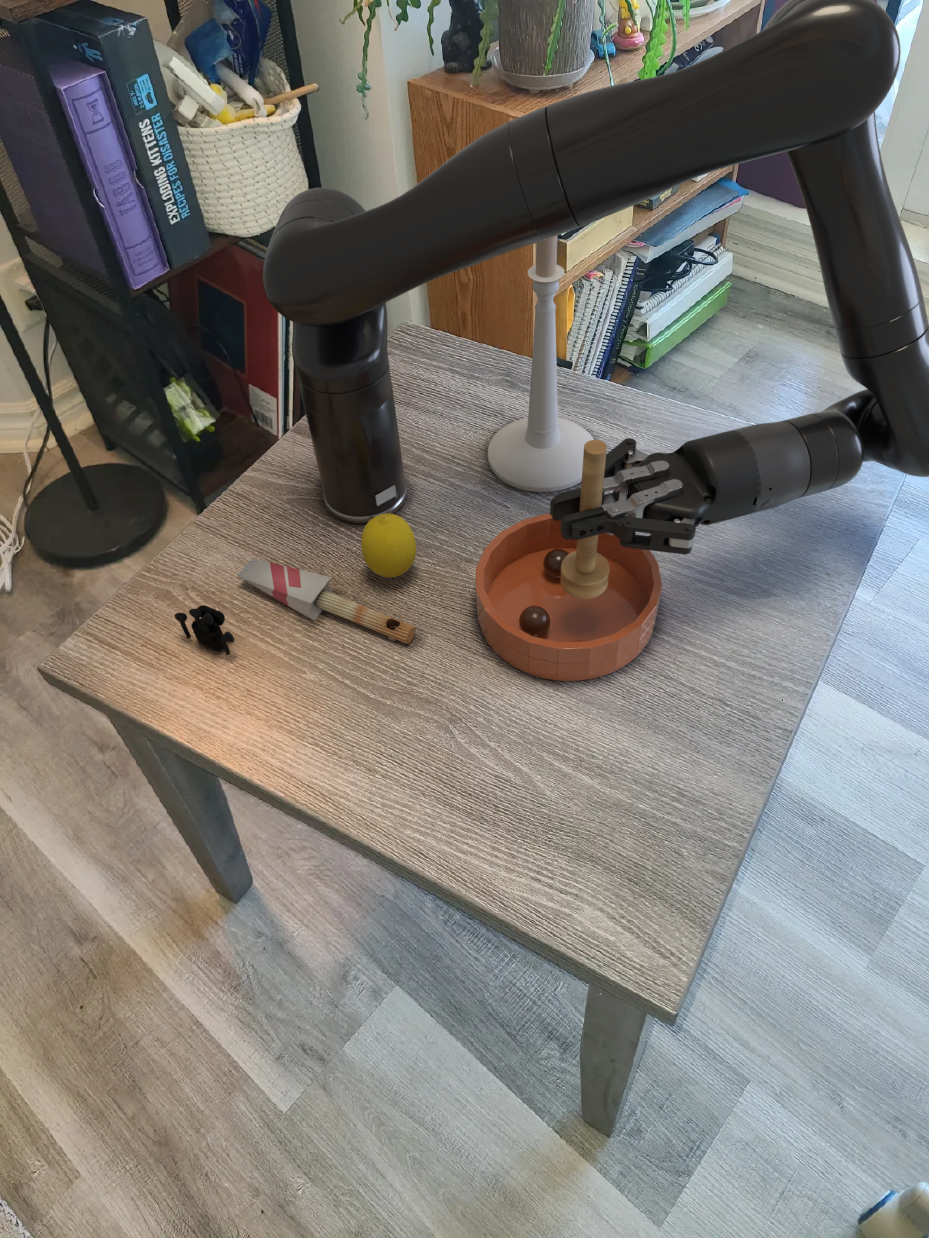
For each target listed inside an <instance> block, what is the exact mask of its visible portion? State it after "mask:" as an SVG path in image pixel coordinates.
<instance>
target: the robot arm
mask: <svg viewBox="0 0 929 1238" xmlns="http://www.w3.org/2000/svg"><path fill="white" fill-rule="evenodd" d="M901 53H902V52H901V41H900V37H899V32H898V30H897V28H896V26H895V23H894V21H893V19H892V18H891V16H890V15H889V14H888V13H887V11H886V10H885V9H884V8H883V7H882V6H881V5H880V4H879V3H877V2H876V1H875V0H787V1H786V2H784V4H783V5H782V6H780V7H779V8H778V9H777V10H776V11H775V12H774V13H773V15H772V16H771V18H769V20H768V21H767V23H766V24H765V26H764V28H763V29H762V30H760V31H759V32H757V33H756V34H753V35H751V36H750V37H748V38H746V39H744V40H742V41H740V42H738V43H736V44H734V45H732V46H730V47H728V48H726V49H724V50H721V51H720V52H718V53H716V54H713V55H712V56H710V57H707V58H706V59H703V60H701V61H699V62H696V63H693V64H692V65H689V66H687V67H684V68H681V69H678V70H676V71H672V72H669V73H665V74H661V75H657V76H652V77H648V78H643V79H637V80H633V81H628V82H623V83H618V84H613V85H609V86H606V87H601V88H597V89H593V90H590V91H587V92H586V91H585V92H583V93H580V94H576V95H572V96H570V97H567V98H565V99H561V100H558V101H556V102H553V103H550V104H547V106H546V105H544V106H542V107H540V108H538V109H535V110H533V111H531V112H528V113H526V114H523V115H520V116H519V117H516V118H513V119H511V120H509V121H507V122H505V123H503V124H501V125H498V126H497V127H495V128H493V129H491V130H490V131H488V132H486V133H484V134H483V135H481V136H479V137H478V138H477V139H475V140H474V141H471V142H470V143H469V144H468V145H466V146H465V147H463V148H462V149H461V150H459V151H458V152H456V153H455V154H454V155H453V156H451V157H450V158H449V159H447V160H446V161H445V162H444V163H443V164H441V165H440V166H439V167H438V168H436V169H435V170H434V171H433V172H431V173H430V174H428V175H427V177H425V178H423V179H422V180H421V181H420V182H418V183H417V184H416V185H414V186H413V187H411V188H410V189H408V190H407V191H406V192H404V193H403V194H401V195H399V196H397V197H395V198H394V199H392V200H390V201H388V202H386V203H383V204H381V205H378V206H376V207H373V208H372V209H367V210H366V209H365V208H364V207H363V206H362V205H361V204H360V202H358V201H357V200H356V199H355V198H354V197H352V196H351V195H349V194H348V193H346V192H344V191H341V190H339V189H336V188H332V187H314V188H309V189H306V190H304V191H302V192H300V193H298V194H296V195H295V196H294V197H293V198H292V199H290V200H289V201H288V203H287V204H286V205H285V207H284V208H283V210H282V211H281V213H280V216H279V218H278V221H277V222H276V225H275V227H274V230H273V233H272V235H271V238H270V240H269V243H268V247H267V249H266V251H265V255H264V260H263V267H262V285H263V290H264V293H265V296H266V298H267V300H268V302H269V304H270V305H271V306H272V308H273V309H274V310H275V311H276V312H277V313H278V314H280V315H281V316H282V317H283V318H285V319H287V320H289V321H290V322H292V337H291V356H292V361H293V366H294V369H295V374H296V379H297V383H298V387H299V391H300V396H301V400H302V403H303V408H304V412H305V417H306V421H307V426H308V430H309V435H310V439H311V443H312V447H313V452H314V456H315V460H316V464H317V469H318V473H319V479H320V484H321V488H322V495H323V500H324V504H325V507H326V509H327V510H328V512H329V513H330V514H331V515H332V516H334V517H335V518H336V519H338V520H341V521H344V522H347V523H351V524H367V523H368V522H369V521H370V520H371V519H372V518H374V517H376V516H378V515H381V514H395V513H396V512H397V511H399V510H400V508H402V506H403V505H404V504H405V501H406V499H407V496H408V488H407V480H406V477H405V472H404V462H403V456H402V449H401V447H402V446H401V440H400V433H399V432H400V431H399V425H398V419H397V411H396V410H397V409H396V403H395V395H394V388H393V382H392V374H391V367H390V360H389V359H390V357H389V351H388V350H389V349H388V311H387V310H388V309H387V303H388V302H390V301H392V300H394V299H396V298H398V297H400V296H401V295H404V294H405V293H408V292H410V291H412V290H414V289H416V288H418V287H420V286H422V285H424V284H426V283H427V284H428V283H429V282H432V281H435V280H436V279H439V278H442V277H444V276H445V277H446V276H447V275H451V274H452V273H456V272H459V271H462V270H465V269H468V268H470V267H473V266H475V265H478V264H481V263H484V262H486V261H488V260H492V259H494V258H497V257H500V256H502V255H505V254H508V253H510V252H513V251H516V250H519V249H522V248H524V247H528V246H531V245H534V244H535V245H536V243H538V242H541V241H544V240H547V239H549V238H552V237H555V236H557V237H558V236H561V235H563V234H565V233H569V232H571V231H573V230H574V231H575V230H577V229H579V228H580V227H585V226H587V225H590V224H593V223H594V222H597V221H599V220H601V219H604V218H606V217H609V216H611V215H614V214H616V213H618V212H621V211H624V210H626V209H628V208H631V207H634V206H636V205H638V204H640V203H642V202H645V201H648V200H650V199H652V198H654V197H656V196H659V195H661V194H663V193H665V192H667V191H669V190H672V189H674V188H676V187H678V186H680V185H682V184H684V183H687V182H689V181H692V180H694V179H696V178H698V177H701V176H704V175H707V174H710V173H713V172H716V171H720V170H723V169H725V168H729V167H731V166H732V167H733V166H736V165H741V164H744V163H747V162H751V161H755V160H759V159H763V158H767V157H770V156H774V155H778V154H782V153H786V155H787V158H788V159H789V162H790V165H791V167H792V170H793V173H794V177H795V179H796V182H797V184H798V187H799V191H800V194H801V196H802V199H803V203H804V206H805V209H806V213H807V218H808V220H809V225H810V229H811V233H812V236H813V241H814V246H815V250H816V255H817V259H818V262H819V268H820V273H821V277H822V282H823V287H824V291H825V296H826V300H827V304H828V310H829V313H830V317H831V321H832V325H833V330H834V333H835V336H836V340H837V344H838V348H839V352H840V355H841V359H842V362H843V366H844V368H845V370H846V372H847V374H848V375H849V376H850V378H851V379H852V380H853V381H854V382H856V383H858V384H859V385H860V386H862V387H864V388H865V389H863V390H861V391H858V392H855V393H853V394H851V395H849V396H847V397H845V398H843V399H841V400H839V401H836V402H834V403H833V404H830V405H829V406H828V407H826V408H824V409H823V410H821V411H817V412H812V413H808V414H804V415H800V416H796V417H791V418H788V419H784V420H779V421H774V422H765V423H763V422H762V423H757V424H750V425H747V426H744V427H740V428H736V429H732V430H726V431H722V432H719V433H715V434H711V435H707V436H703V437H698V438H695V439H691V440H688V441H686V442H684V443H683V444H682V445H680V446H679V447H678V448H677V449H675V450H674V451H672V452H653V453H650V454H647V453H645V452H643V451H642V450H640V449H638V448H637V441H636V440H635V439H634V438H633V437H632V438H631V437H627V438H624V439H623V440H622V441H620V442H619V443H618V444H617V445H616V446H615V447H613V448H612V449H611V450H610V451H609V452H607V453H606V462H605V472H604V482H603V493H602V503H601V507H597V508H594V509H589V510H585V511H581V512H579V509H580V496H581V487H579V488H575V489H571V490H567V491H563V492H559V493H557V494H556V495H554V497H552V498H551V500H550V501H549V513H550V515H551V517H552V518H553V520H554V521H559V520H561V523H560V533H561V535H562V537H563V538H564V539H565V540H568V539H572V540H580V539H583V538H587V537H591V536H595V535H599V534H603V533H606V534H608V535H615V536H616V537H618V538H619V539H620V544H621V546H623V547H626V548H635V549H643V550H650V551H651V552H660V553H668V554H677V555H689V554H691V553H692V549H693V546H694V543H695V539H696V531H697V527H698V526H699V525H701V526H710V525H715V524H718V523H722V522H725V521H729V520H732V519H737V518H740V517H744V516H748V515H751V514H755V513H759V512H763V511H767V510H771V509H774V508H777V507H780V506H782V505H784V504H787V503H789V502H791V501H794V500H797V499H801V498H805V497H809V496H813V495H816V494H820V493H823V492H827V491H830V490H834V489H836V488H840V487H841V486H844V485H846V484H848V483H849V482H851V481H853V479H854V478H856V477H857V475H858V474H859V473H860V471H861V469H862V466H863V463H866V462H867V463H869V462H874V463H877V464H880V465H882V466H885V467H887V468H890V469H892V470H895V471H897V472H899V473H902V474H905V475H908V476H912V477H918V478H929V318H928V313H927V309H926V304H925V299H924V294H923V289H922V286H921V285H922V284H921V281H920V277H919V273H918V270H917V266H916V263H915V259H914V257H913V253H912V250H911V247H910V244H909V241H908V238H907V235H906V233H905V230H904V226H903V223H902V221H901V218H900V216H899V213H898V210H897V207H896V204H895V201H894V198H893V196H892V192H891V189H890V185H889V182H888V179H887V175H886V171H885V168H884V162H883V159H882V154H881V149H880V142H879V137H878V130H877V121H876V111H877V109H878V108H879V107H880V106H881V105H882V103H883V102H884V100H885V99H886V97H887V95H888V94H889V93H890V91H891V89H892V87H893V85H894V84H895V80H896V77H897V75H898V71H899V67H900V62H901ZM611 491H612V492H611ZM607 492H609V493H607ZM610 492H611V493H610ZM637 533H642V534H637ZM643 534H649V535H643Z"/></svg>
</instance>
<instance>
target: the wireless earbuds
mask: <svg viewBox="0 0 929 1238" xmlns="http://www.w3.org/2000/svg"><path fill="white" fill-rule="evenodd" d="M188 613H189V615H190V616H191V618H193V619H194V621H192V623H191V625H190V627H191V630H192V632H193V634H194V636H195V638H196V641H197V642H198V644H199V645H201V646H203V647H205V648H207V649H210V650H212V651H214V652H222V651H224V653H225V655H226V656H230V655H231V651H230V648H229V646H228V643H230V644H232V643H234V642H235V637H234V635H233V634H232V633H231V632H230V631H229V630H228V631H227V630H226V632H224V633H223V630H222V628H221V626H223V625H224V623H225V621H226V616H225V614H224V613H223V612H222V611H220V610H217V609H215V608H213V607H211V606H208V605H199V606H198V607H197V608H191V609H189V610H188ZM174 618H175V620H176V621H177V622H179V624H180V626H181V629H182V631H183V633H184V636H185V637H186V639H188V640H189V639H191V638H192V635H191V633H190V631H189V628H188V626H187V624H186V621H187V619H188V615H187V614H186V613H185V612H176V613H175V614H174Z"/></svg>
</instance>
